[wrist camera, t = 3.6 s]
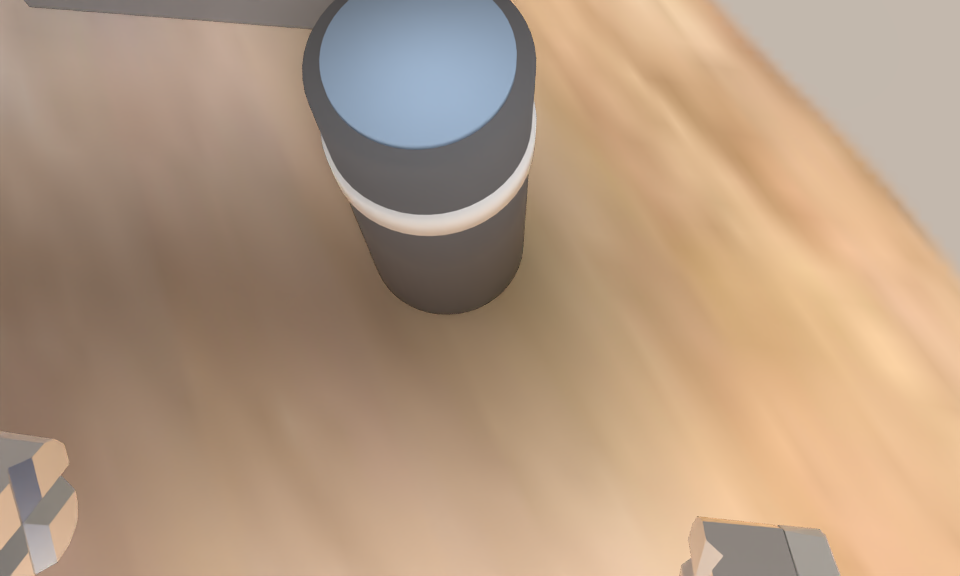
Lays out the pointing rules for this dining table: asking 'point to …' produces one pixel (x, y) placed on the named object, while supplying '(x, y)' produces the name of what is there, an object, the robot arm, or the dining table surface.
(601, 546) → the dining table surface
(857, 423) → the dining table surface
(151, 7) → the dock
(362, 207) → the lens
